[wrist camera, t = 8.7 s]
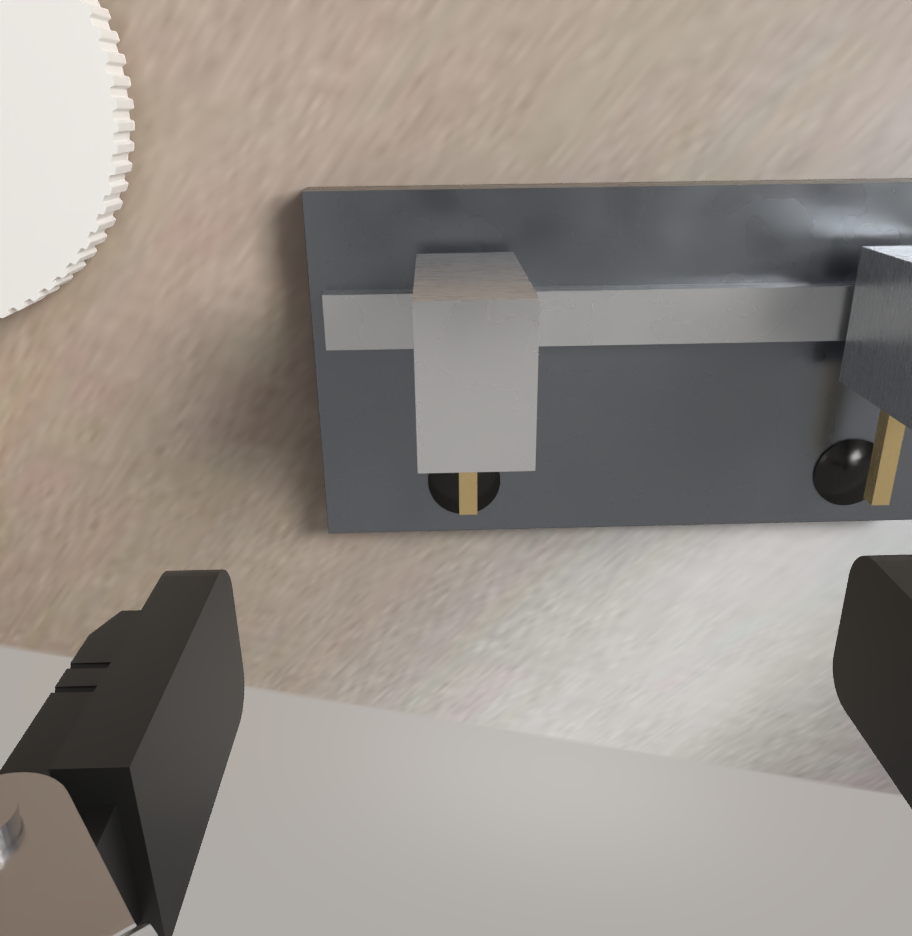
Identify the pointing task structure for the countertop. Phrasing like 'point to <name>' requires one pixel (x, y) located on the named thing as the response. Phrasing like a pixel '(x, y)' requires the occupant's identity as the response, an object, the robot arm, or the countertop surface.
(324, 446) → the hole plate
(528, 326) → the leg
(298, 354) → the countertop surface
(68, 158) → the plastic lid
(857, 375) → the fixed leg
